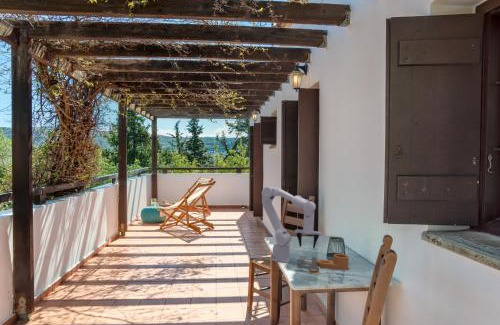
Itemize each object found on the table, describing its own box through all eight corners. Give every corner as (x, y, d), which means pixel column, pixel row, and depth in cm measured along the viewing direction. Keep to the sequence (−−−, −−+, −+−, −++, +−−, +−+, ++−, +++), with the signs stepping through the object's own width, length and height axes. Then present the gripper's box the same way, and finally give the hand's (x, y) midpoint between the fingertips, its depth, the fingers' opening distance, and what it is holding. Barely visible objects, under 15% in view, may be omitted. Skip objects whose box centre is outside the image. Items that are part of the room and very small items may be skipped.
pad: (307, 273, 208) (307, 272, 208) (308, 270, 214) (308, 269, 214) (318, 274, 206) (318, 274, 206) (320, 271, 212) (320, 270, 212)
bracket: (347, 266, 225) (347, 254, 225) (348, 271, 217) (349, 258, 217) (314, 263, 228) (315, 251, 227) (315, 267, 219) (316, 255, 219)
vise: (296, 269, 214) (296, 260, 214) (299, 264, 224) (300, 255, 224) (315, 271, 211) (315, 263, 211) (317, 266, 222) (318, 258, 221)
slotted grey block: (309, 270, 212) (310, 256, 212) (319, 271, 211) (319, 257, 210) (308, 271, 209) (309, 257, 209) (318, 273, 208) (319, 259, 207)
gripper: (294, 222, 222) (293, 247, 222) (320, 225, 217) (319, 250, 218) (296, 221, 228) (295, 244, 229) (322, 223, 224) (320, 247, 225)
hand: (307, 247), depth 224 cm, fingers open, 7 cm apart
